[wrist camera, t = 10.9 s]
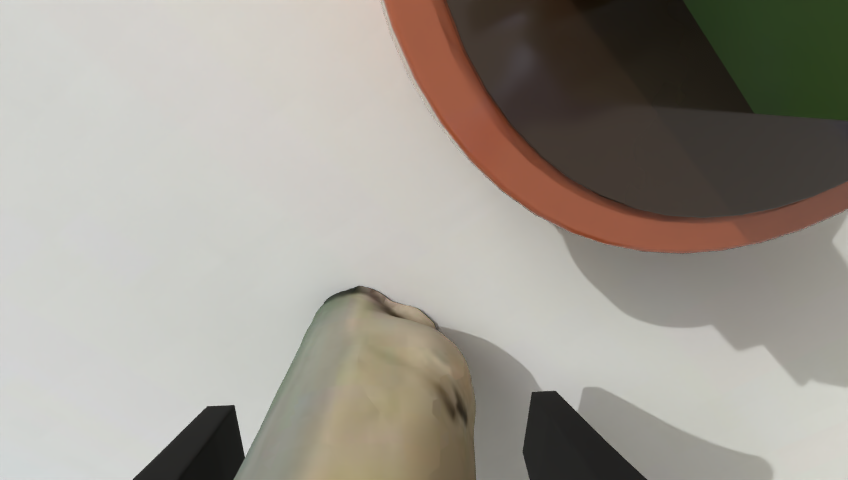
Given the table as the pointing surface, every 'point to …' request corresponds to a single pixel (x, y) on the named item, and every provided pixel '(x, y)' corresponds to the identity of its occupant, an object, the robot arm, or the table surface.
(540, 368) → the table surface
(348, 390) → the pale green rounded block
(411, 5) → the plant
